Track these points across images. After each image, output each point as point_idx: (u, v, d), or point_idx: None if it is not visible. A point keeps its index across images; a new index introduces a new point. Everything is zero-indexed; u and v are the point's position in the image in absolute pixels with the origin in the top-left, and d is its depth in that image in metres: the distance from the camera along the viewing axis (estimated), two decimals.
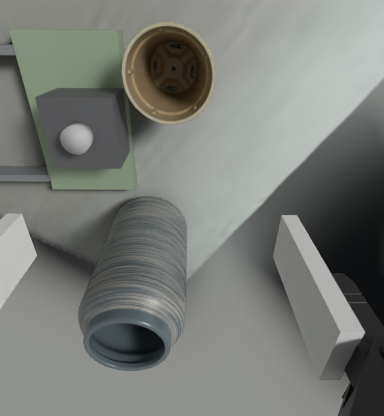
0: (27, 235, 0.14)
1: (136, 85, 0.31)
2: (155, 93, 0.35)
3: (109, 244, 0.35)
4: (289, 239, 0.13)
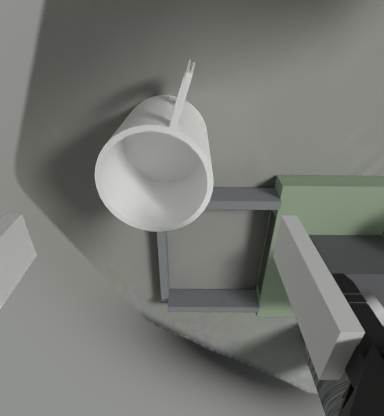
0: (27, 235, 0.14)
1: None
2: None
3: None
4: (289, 239, 0.13)
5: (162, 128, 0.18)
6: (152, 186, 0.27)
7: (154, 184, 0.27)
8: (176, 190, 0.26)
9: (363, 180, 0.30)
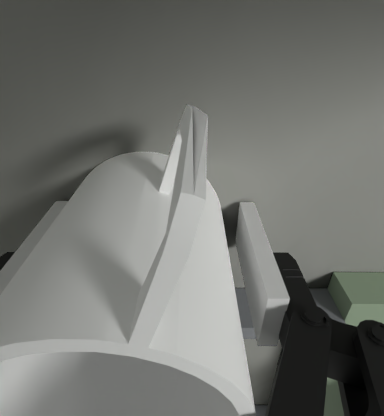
0: None
1: None
2: None
3: None
4: (243, 223, 0.14)
5: (107, 345, 0.06)
6: None
7: None
8: None
9: None
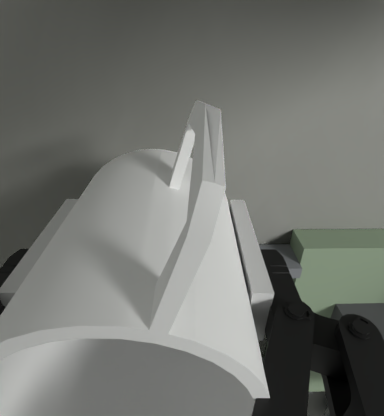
0: None
1: None
2: None
3: None
4: (233, 221, 0.14)
5: (129, 331, 0.06)
6: None
7: None
8: None
9: None
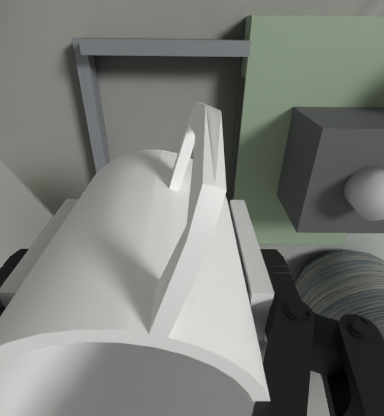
0: None
1: None
2: None
3: None
4: (233, 221, 0.14)
5: (128, 335, 0.06)
6: None
7: None
8: None
9: None
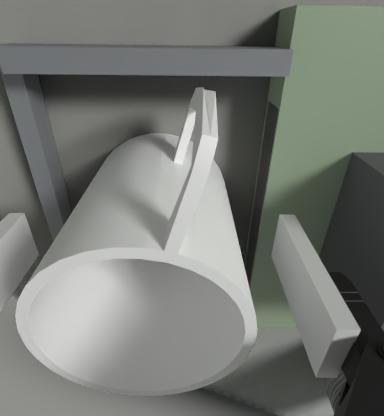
0: (29, 234, 0.15)
1: None
2: None
3: None
4: (286, 238, 0.13)
5: (148, 252, 0.08)
6: (142, 276, 0.17)
7: (145, 271, 0.18)
8: (180, 284, 0.17)
9: None
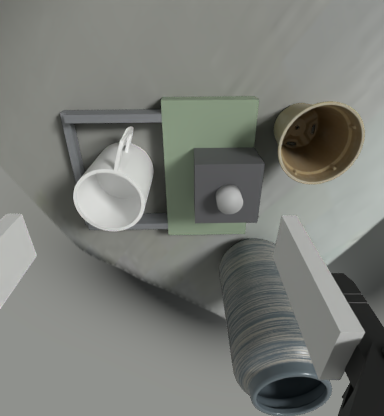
0: (27, 235, 0.14)
1: None
2: (283, 151, 0.38)
3: (243, 292, 0.38)
4: (289, 239, 0.13)
5: (110, 170, 0.31)
6: (116, 202, 0.40)
7: (117, 201, 0.41)
8: (131, 204, 0.40)
9: (230, 97, 0.36)
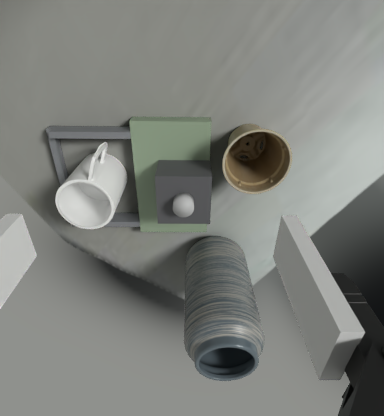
0: (27, 235, 0.14)
1: (227, 164, 0.41)
2: (234, 164, 0.45)
3: (198, 281, 0.45)
4: (289, 239, 0.13)
5: (84, 180, 0.38)
6: (94, 203, 0.48)
7: (95, 202, 0.48)
8: (107, 206, 0.47)
9: (189, 119, 0.43)
